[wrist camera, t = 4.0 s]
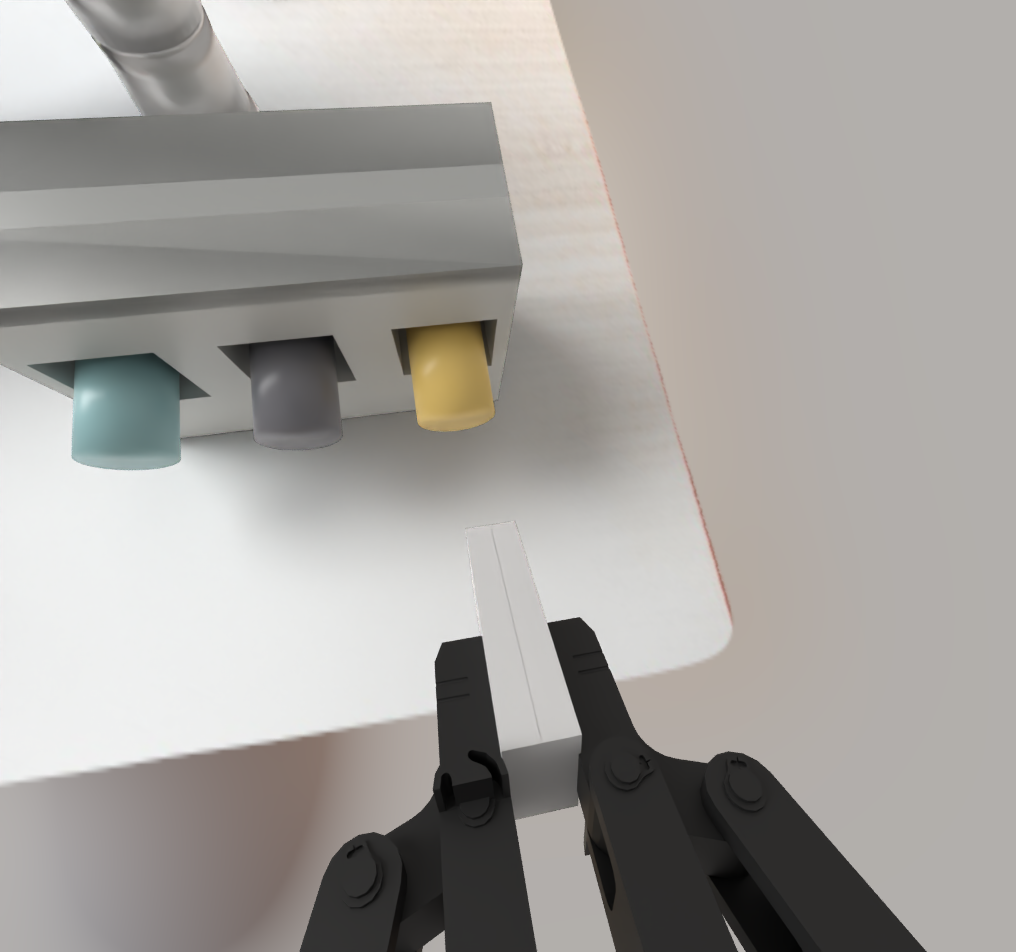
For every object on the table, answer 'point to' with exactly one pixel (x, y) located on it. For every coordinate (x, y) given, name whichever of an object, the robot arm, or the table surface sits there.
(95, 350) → the console
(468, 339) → the amber button
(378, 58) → the table surface
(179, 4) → the plastic bottle
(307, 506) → the table surface
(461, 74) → the table surface
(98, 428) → the teal button
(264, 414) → the charcoal button
